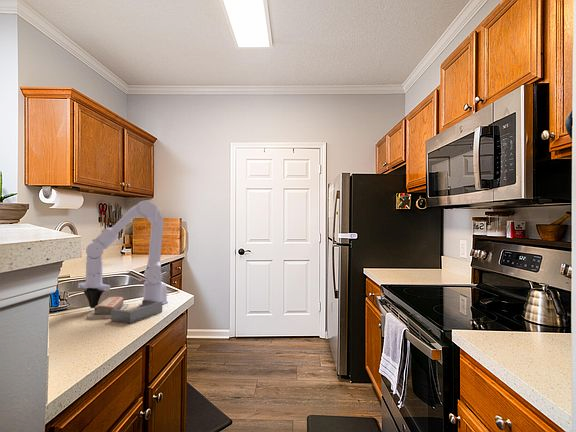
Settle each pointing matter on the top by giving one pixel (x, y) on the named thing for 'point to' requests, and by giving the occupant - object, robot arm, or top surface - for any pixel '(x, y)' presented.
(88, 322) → the top surface
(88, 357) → the top surface
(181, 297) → the top surface
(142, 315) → the dark grey slab
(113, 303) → the packaged product
